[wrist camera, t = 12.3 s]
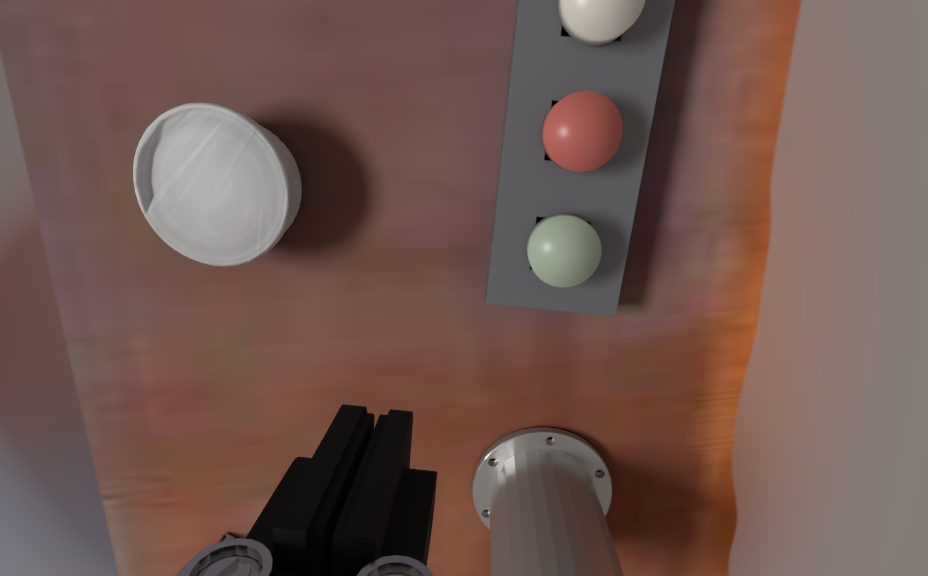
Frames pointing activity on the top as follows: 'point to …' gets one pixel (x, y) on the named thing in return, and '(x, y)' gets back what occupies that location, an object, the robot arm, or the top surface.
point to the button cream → (598, 19)
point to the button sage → (563, 250)
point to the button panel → (560, 190)
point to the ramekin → (215, 184)
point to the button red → (582, 131)
